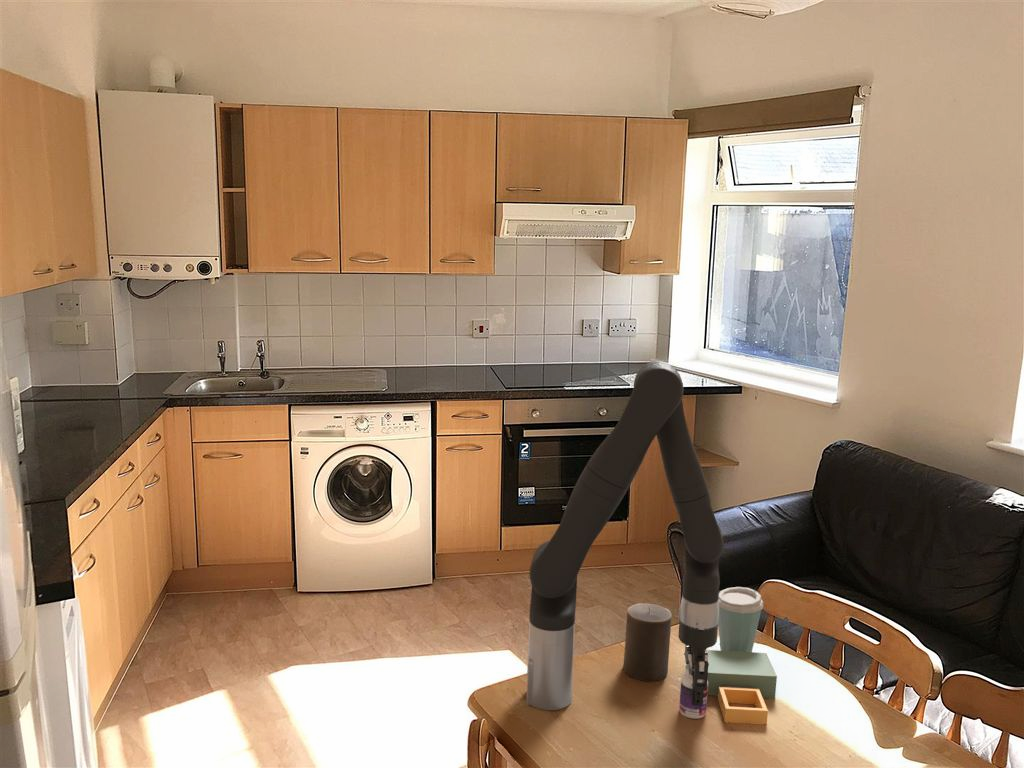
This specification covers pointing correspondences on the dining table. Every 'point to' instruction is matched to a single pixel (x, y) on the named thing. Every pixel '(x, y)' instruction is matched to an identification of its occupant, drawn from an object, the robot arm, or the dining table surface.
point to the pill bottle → (685, 698)
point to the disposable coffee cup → (738, 618)
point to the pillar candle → (647, 642)
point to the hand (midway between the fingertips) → (693, 693)
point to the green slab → (741, 684)
